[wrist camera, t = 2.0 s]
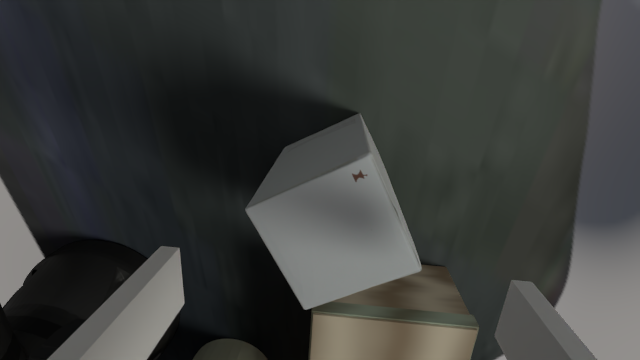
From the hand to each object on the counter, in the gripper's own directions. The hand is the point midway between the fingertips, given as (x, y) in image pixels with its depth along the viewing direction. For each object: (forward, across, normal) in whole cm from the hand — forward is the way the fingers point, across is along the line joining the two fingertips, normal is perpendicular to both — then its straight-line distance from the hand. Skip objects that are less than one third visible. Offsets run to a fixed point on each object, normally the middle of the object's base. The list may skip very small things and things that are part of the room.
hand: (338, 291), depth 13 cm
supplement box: (+17, 0, 0) cm, 17 cm away
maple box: (+17, +5, -17) cm, 24 cm away
